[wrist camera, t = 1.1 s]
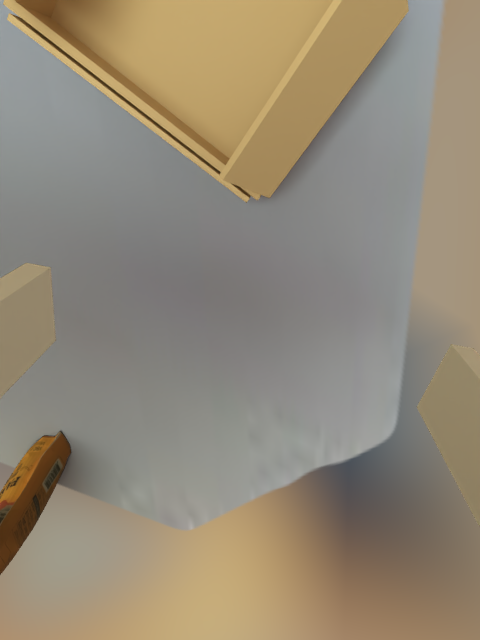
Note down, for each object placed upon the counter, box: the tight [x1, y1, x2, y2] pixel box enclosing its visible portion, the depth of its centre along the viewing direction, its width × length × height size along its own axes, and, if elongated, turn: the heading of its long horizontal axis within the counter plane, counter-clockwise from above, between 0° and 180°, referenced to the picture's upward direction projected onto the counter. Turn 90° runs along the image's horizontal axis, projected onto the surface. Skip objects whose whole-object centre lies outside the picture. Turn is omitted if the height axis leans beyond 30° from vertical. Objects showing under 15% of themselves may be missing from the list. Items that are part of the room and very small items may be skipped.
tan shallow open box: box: [3, 0, 333, 203], centre depth 25 cm, size 21×16×5 cm
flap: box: [219, 0, 409, 198], centre depth 22 cm, size 1×14×7 cm
